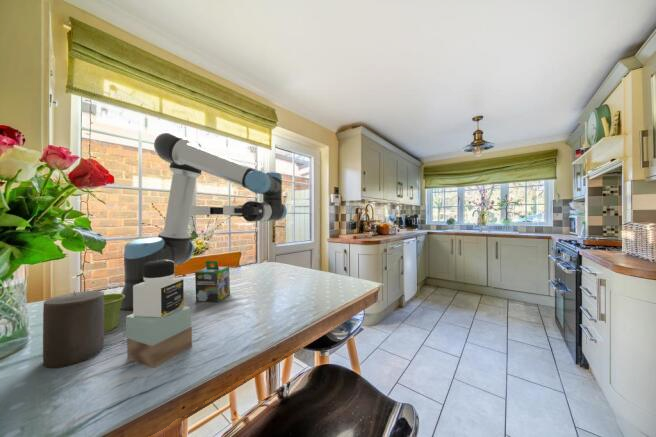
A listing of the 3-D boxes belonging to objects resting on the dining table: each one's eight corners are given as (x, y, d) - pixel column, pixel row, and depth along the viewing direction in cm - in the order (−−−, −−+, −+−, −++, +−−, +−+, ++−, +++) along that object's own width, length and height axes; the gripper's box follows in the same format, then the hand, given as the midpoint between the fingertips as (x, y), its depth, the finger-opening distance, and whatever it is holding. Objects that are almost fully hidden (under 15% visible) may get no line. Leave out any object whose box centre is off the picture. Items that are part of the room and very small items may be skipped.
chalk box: (230, 294, 97) (230, 258, 96) (217, 302, 88) (217, 263, 87) (209, 293, 98) (209, 257, 97) (194, 301, 88) (194, 262, 88)
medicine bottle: (161, 318, 52) (161, 264, 52) (132, 316, 53) (131, 263, 53) (184, 305, 59) (184, 258, 59) (158, 304, 60) (157, 257, 60)
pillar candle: (48, 374, 48) (48, 301, 48) (38, 358, 53) (38, 292, 53) (110, 351, 57) (111, 289, 56) (96, 339, 62) (97, 282, 61)
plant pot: (121, 318, 74) (121, 291, 74) (128, 327, 68) (128, 298, 68) (78, 329, 67) (77, 299, 67) (81, 341, 61) (81, 308, 61)
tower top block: (126, 337, 54) (125, 316, 53) (165, 321, 62) (165, 302, 62) (152, 346, 50) (152, 322, 50) (190, 327, 59) (190, 307, 59)
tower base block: (127, 359, 54) (127, 337, 54) (166, 339, 62) (166, 321, 62) (154, 368, 50) (154, 345, 50) (191, 346, 59) (191, 326, 59)
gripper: (284, 221, 83) (239, 224, 63) (231, 220, 93) (178, 222, 73) (284, 200, 83) (239, 196, 63) (231, 201, 93) (178, 198, 73)
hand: (206, 210), depth 68 cm, fingers open, 13 cm apart
